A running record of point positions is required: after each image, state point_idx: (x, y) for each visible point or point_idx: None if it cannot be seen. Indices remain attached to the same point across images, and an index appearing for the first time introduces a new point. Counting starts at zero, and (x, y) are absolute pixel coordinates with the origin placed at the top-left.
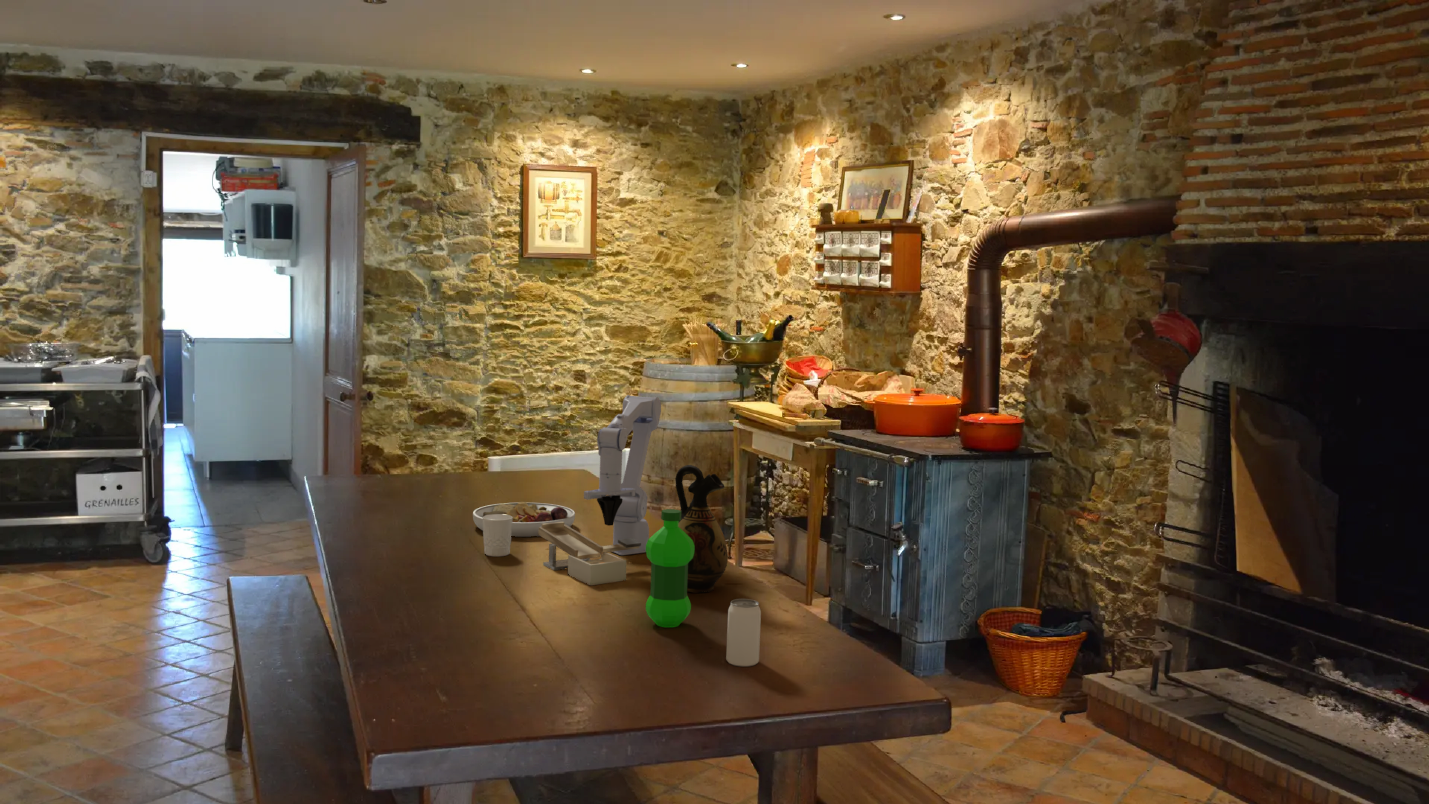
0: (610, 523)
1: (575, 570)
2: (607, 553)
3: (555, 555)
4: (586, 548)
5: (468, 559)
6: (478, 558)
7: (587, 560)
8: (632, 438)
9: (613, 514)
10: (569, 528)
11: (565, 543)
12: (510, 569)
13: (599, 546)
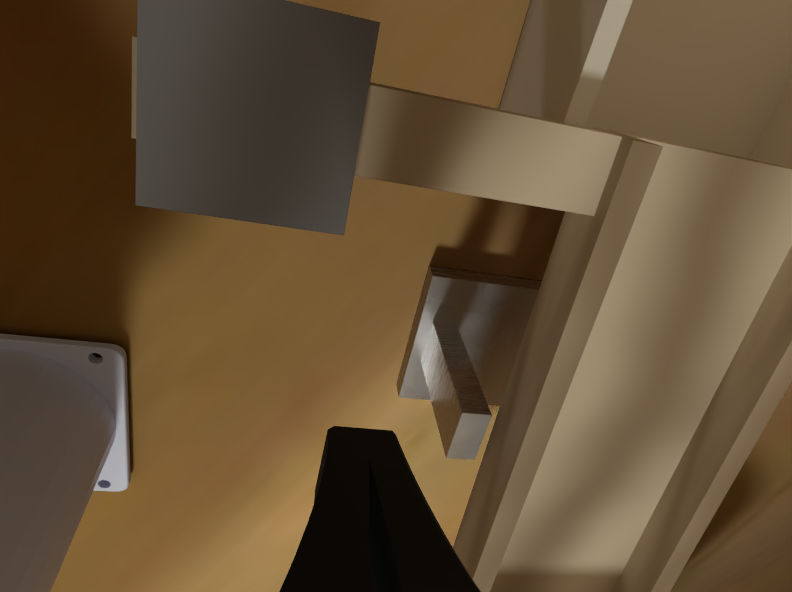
0: (375, 445)
1: None
2: (597, 73)
3: None
4: (618, 293)
5: (728, 585)
6: (695, 583)
7: (448, 325)
8: None
9: (355, 545)
10: None
11: (785, 376)
12: (786, 421)
13: (646, 175)
